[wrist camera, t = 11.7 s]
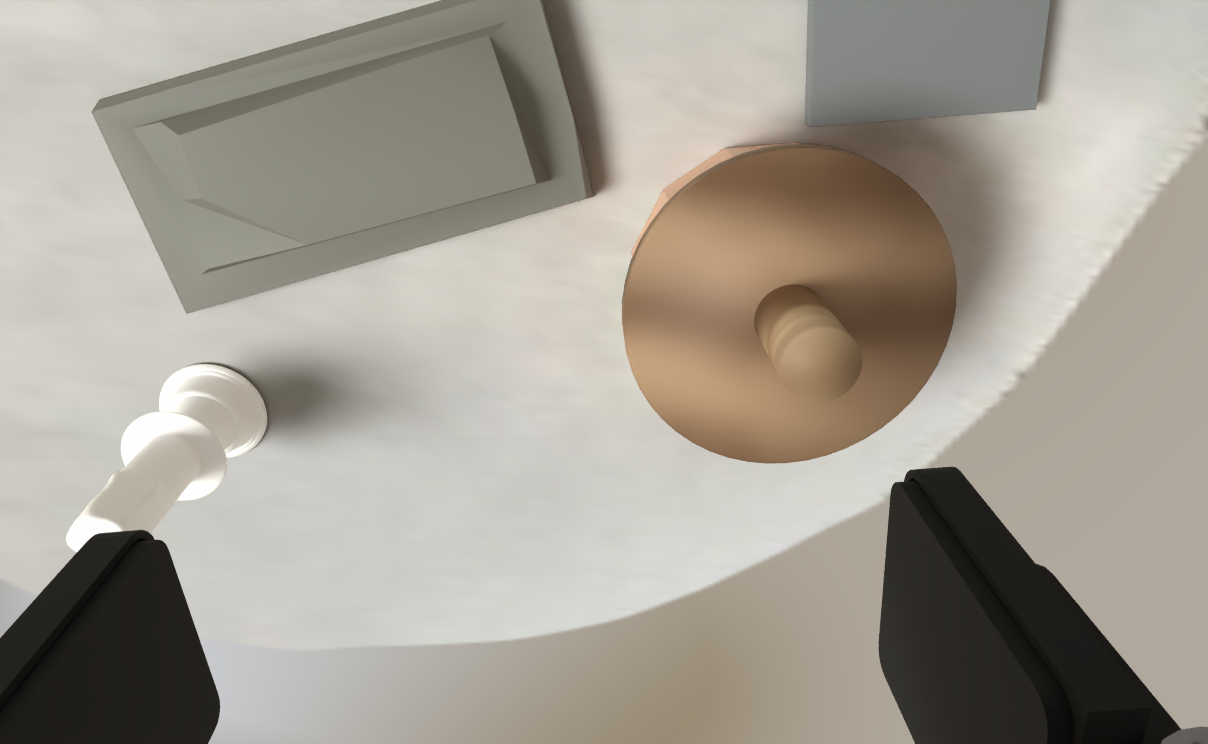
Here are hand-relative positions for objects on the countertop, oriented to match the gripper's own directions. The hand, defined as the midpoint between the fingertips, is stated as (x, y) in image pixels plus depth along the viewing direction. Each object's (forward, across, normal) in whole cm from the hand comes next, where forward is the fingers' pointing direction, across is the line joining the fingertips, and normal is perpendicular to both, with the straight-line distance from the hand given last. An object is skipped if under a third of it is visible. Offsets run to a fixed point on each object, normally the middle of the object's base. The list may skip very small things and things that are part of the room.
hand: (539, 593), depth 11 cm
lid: (+25, -9, +6) cm, 28 cm away
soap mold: (+31, +9, -1) cm, 33 cm away
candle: (+31, +19, +11) cm, 38 cm away
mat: (+30, -16, -7) cm, 35 cm away
